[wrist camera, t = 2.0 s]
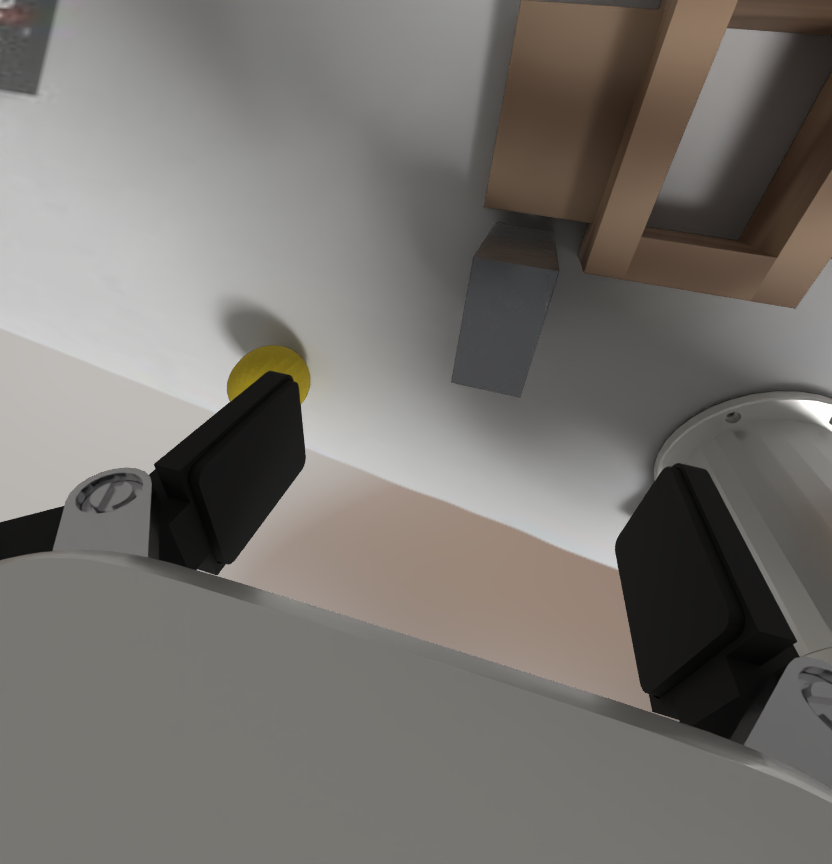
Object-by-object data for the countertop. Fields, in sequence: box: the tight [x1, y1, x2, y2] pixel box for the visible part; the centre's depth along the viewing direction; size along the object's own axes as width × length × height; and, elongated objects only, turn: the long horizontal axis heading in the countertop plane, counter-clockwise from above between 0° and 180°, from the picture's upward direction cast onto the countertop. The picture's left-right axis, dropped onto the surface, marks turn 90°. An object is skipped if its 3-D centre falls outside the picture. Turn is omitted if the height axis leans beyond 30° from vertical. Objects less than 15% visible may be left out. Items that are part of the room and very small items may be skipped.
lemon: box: [227, 345, 310, 404], centre depth 31 cm, size 6×6×8 cm
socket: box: [484, 0, 832, 309], centre depth 18 cm, size 12×22×4 cm, turn 84°
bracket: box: [451, 223, 559, 397], centre depth 22 cm, size 6×4×10 cm, turn 174°
